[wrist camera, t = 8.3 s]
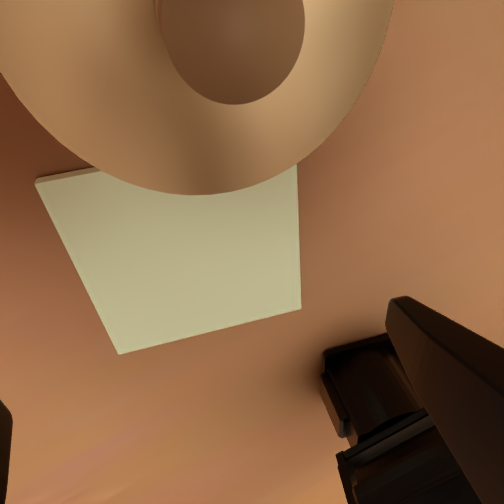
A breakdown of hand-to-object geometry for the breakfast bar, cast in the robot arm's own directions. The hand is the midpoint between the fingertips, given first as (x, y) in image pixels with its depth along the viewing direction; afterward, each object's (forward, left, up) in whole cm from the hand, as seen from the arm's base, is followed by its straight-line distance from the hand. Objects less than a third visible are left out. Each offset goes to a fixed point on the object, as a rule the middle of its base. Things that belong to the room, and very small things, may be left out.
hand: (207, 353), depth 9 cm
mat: (0, +6, -12) cm, 14 cm away
